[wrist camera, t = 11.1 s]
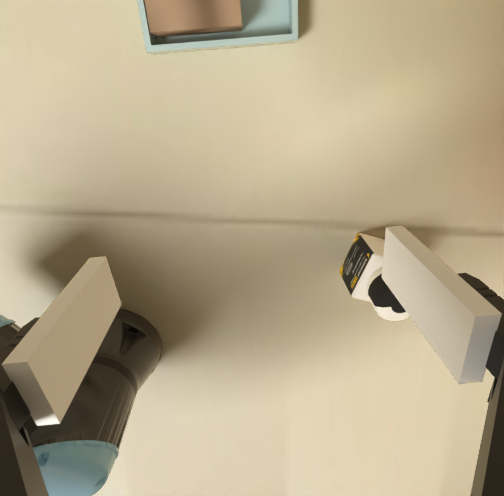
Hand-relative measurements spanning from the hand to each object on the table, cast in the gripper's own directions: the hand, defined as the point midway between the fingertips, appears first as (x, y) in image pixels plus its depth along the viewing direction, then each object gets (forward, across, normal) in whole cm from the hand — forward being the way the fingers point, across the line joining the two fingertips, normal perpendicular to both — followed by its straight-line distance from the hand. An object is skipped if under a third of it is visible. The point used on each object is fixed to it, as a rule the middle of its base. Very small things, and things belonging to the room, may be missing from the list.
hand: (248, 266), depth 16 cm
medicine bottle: (+31, +18, -18) cm, 40 cm away
